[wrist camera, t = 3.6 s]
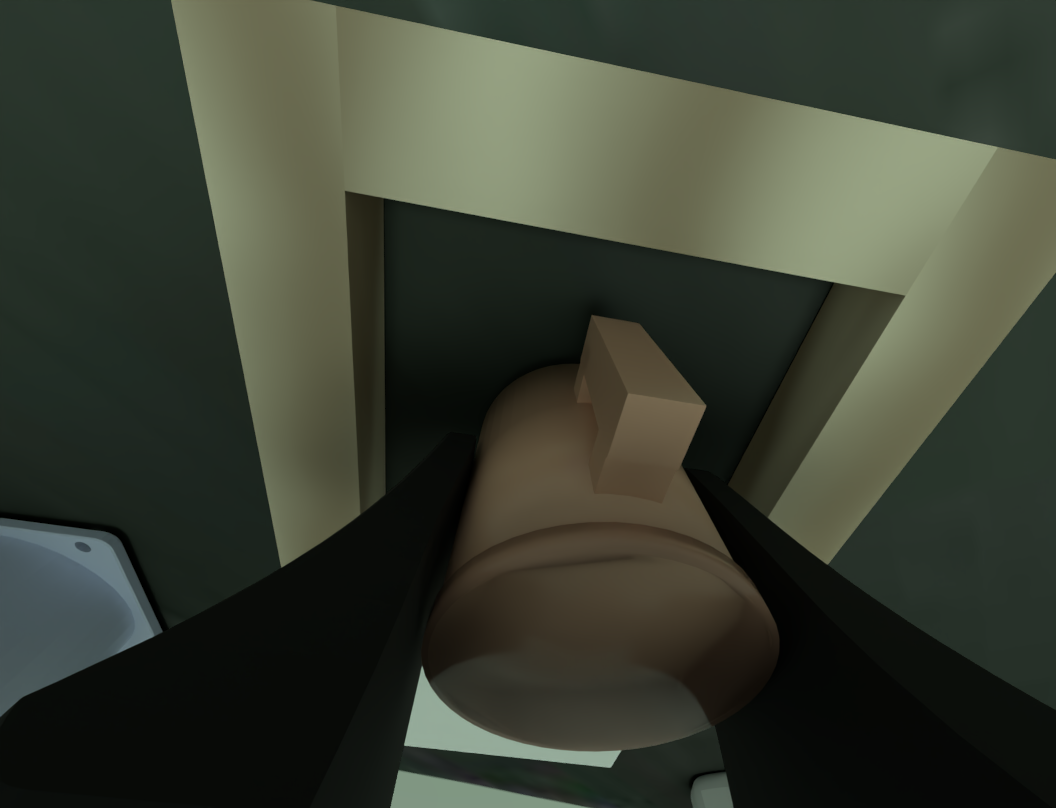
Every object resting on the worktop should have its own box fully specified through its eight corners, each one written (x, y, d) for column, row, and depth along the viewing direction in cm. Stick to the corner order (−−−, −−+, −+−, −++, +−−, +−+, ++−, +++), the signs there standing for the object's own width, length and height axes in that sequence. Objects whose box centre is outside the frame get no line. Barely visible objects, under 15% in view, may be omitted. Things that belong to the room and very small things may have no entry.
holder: (320, 572, 15) (292, 622, 13) (252, 22, 8) (165, -31, 6) (717, 624, 16) (739, 677, 14) (1007, 180, 8) (1132, 175, 7)
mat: (359, 733, 21) (357, 740, 21) (348, 592, 16) (345, 599, 15) (609, 760, 22) (610, 767, 22) (685, 635, 16) (687, 642, 16)
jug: (468, 500, 12) (415, 734, 7) (496, 283, 9) (437, 404, 4) (629, 523, 12) (698, 764, 7) (709, 321, 9) (936, 483, 4)
